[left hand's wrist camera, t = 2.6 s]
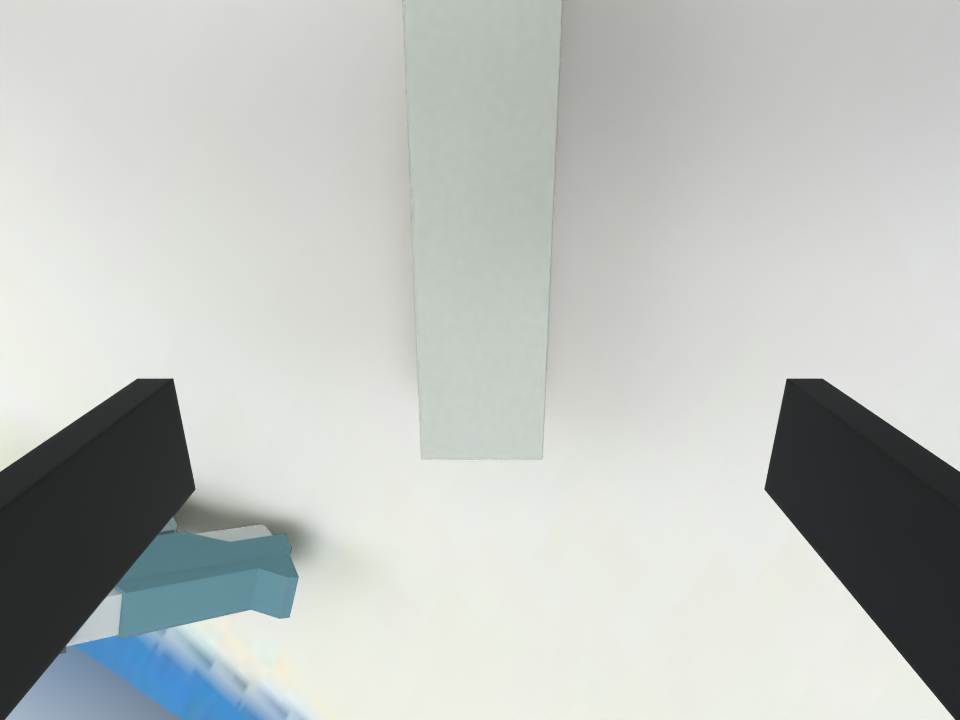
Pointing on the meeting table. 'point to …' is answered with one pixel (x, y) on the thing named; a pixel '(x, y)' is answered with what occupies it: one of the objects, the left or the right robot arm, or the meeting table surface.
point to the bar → (482, 219)
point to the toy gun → (197, 582)
